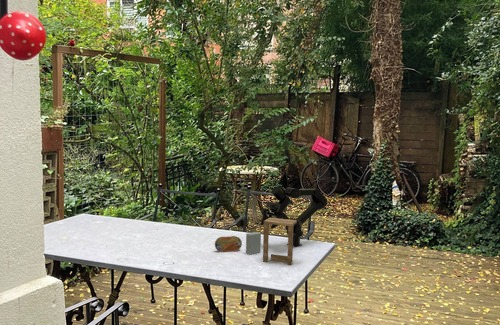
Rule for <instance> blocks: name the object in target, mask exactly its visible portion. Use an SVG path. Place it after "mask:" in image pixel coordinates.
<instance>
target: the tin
mask: <svg viewBox="0 0 500 325" xmlns="http://www.w3.org/2000/svg"><path fill="white" fill-rule="evenodd" d="M242 241H243V240H242V239H241V238H240V237H238V236H235V235H230V236H219V237H218V238H216V240H215V241H214V247H215V249H216V251H218V252H220V253H228V252H229V253H232V252H237V251H239V250H240V249H241V248H242V244H243V242H242Z"/></svg>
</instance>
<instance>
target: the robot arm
mask: <svg viewBox="0 0 500 325" xmlns="http://www.w3.org/2000/svg"><path fill="white" fill-rule="evenodd" d="M270 191H271V194H272V196H273V197H274V198H275V199H276V200H277V201H278V202H276V201H274V202H272V201H269V200H267V202H266V205H265V207H263V208H262V209H261V211H260V212H261V213H262V218H261V221H260V226H264V221H265V220H266V219H268V218H273V217H274V218H278V219H288V220H297V223H296V224H294V225H293V246H294V247H295V248H297V247H301V246H302V245H303V244H302V243H301V238H302V237H303V236H304V231H303V230H302V228H303V224H304V223H305V222H307V221H308V220H309V219H310V218H311V217H312V216H313V215H314V214H315V213H316V212H318V210H319V211H320V210H321V209H324V208H326V206H327V205H328V203H329V202H328V198H327V197H325V195H324V194H323V193H322V192H320V190H319V189H318V188H294V187H289V186H287V187H286V188H285V189H284V188H283V186H282V185H279V184H278V185H277V186H275V187H273V188H272V190H270ZM306 196H307V197H308V196H311V204H310V205H309V206H308V207H307V208H306V209H305V210H304V211H303V212H301V214H300V215H298V217H296V218H293V217H291V218H290V219H289V217H288V215H287V214H286V211H287V210H286V209H287V207H288V206H289V205H292V206H293V205H294V202H293V199H297V198H298V199H299V198H300V197H306ZM290 198H291V199H290ZM278 226H280V225H274V224H271V226H270V229H271V230H272V229H274V228H277V227H278ZM284 229H285V231H286V234H287V235H288V226H285V228H284ZM286 245H287V246H288V243H287V244H286ZM300 245H301V246H300ZM294 247H293V248H294Z"/></svg>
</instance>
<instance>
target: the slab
mask: <svg viewBox="0 0 500 325" xmlns="http://www.w3.org/2000/svg"><path fill="white" fill-rule="evenodd" d="M245 235H246V236H245V240H246V241H245V254H247V255H249V256H252V254H253V255H257V253H258V254H261V252H262V251H261V250H262V249H261V245H262V233H261V232H257V231H253V232H248V233H246V234H245Z"/></svg>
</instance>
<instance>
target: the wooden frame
mask: <svg viewBox="0 0 500 325" xmlns="http://www.w3.org/2000/svg"><path fill="white" fill-rule="evenodd" d="M296 223H297V220H290V219H289V220H288V219H278V218H276V217H271V218H268V219H266V220H265V221H264V224H263V235H262V236H263V238H262V239H263V242H262V244H263V245H262V246H263V247H262V262H264V263H268V262H269V236H270V235H269V234H270V233H269V232H270V230H269V228H270V225H272V224H274V225H279V226H285V227H286V226H288V234H287V244H288V245H287V255H283V254H282V255H281V254H275V253H271V254H270V261H272V262H273V261H276V262H283V263H286V264H287V266H292V265H293V255H294V250H293V249H294V247H293V225H294V224H296Z"/></svg>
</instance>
